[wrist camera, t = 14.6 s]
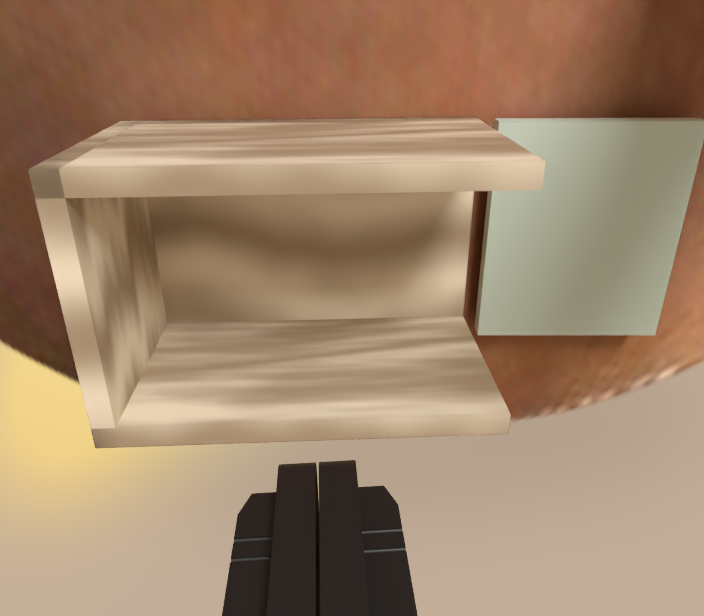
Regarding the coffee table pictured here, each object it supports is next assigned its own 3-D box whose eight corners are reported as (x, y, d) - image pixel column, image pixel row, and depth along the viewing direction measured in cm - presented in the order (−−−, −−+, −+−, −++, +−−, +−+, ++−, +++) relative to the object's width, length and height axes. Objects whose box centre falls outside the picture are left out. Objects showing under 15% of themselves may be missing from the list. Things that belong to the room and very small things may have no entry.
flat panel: (499, 121, 34) (708, 120, 34) (494, 118, 35) (697, 117, 35) (477, 335, 40) (655, 335, 40) (474, 326, 41) (647, 326, 41)
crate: (120, 121, 35) (27, 169, 24) (475, 117, 36) (545, 161, 25) (156, 331, 41) (95, 448, 30) (457, 323, 42) (508, 433, 31)
